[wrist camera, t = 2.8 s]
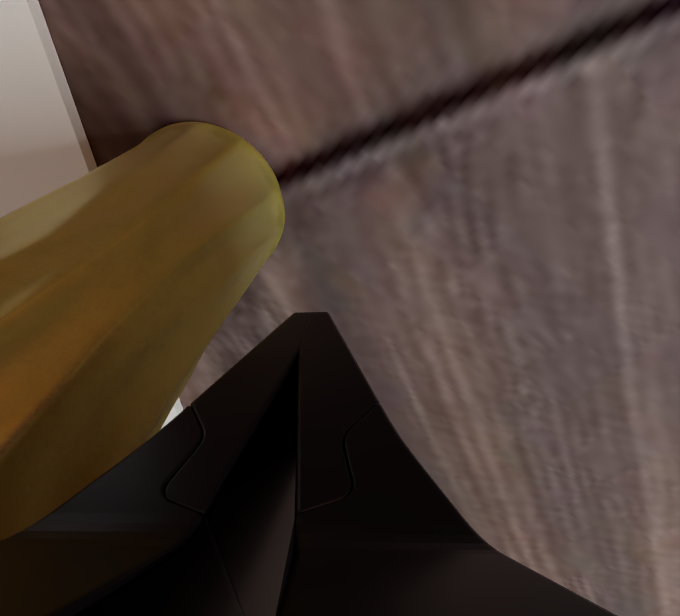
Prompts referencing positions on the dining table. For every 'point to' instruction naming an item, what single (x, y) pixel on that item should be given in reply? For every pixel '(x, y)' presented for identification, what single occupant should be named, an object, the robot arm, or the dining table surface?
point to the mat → (37, 116)
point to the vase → (120, 303)
